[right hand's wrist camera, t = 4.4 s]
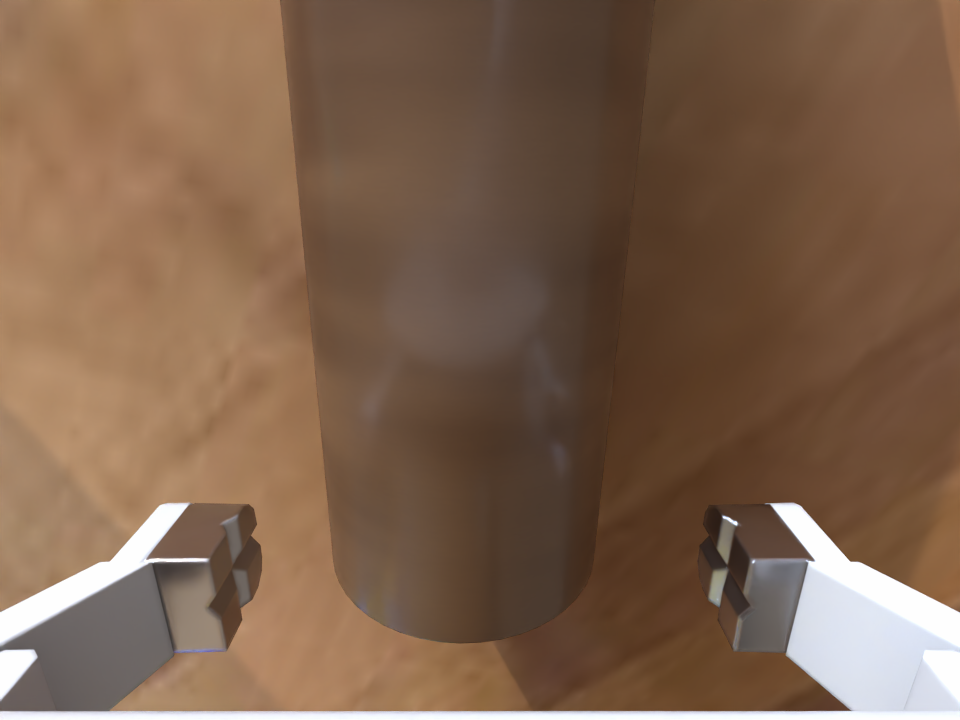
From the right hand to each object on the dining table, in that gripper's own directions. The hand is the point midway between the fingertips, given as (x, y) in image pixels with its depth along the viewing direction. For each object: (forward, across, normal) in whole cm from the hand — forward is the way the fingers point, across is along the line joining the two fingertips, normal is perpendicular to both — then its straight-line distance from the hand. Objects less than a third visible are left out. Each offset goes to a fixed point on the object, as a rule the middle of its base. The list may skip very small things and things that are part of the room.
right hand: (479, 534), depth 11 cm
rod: (+6, 0, -10) cm, 12 cm away
